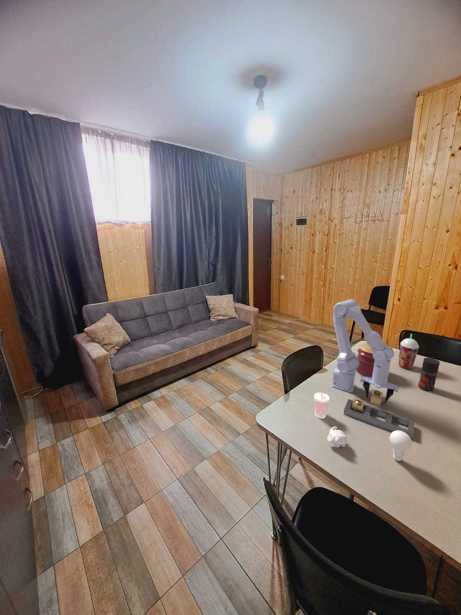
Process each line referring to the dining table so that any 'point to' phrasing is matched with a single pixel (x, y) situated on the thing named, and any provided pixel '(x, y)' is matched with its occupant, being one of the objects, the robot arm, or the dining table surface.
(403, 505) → the dining table surface
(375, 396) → the knobbed gold cube
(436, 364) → the deodorant
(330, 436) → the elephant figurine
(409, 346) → the smoothie
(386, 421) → the rack rail
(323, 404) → the beverage cup
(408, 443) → the lightbulb
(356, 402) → the gold knobbed block
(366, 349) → the canister
